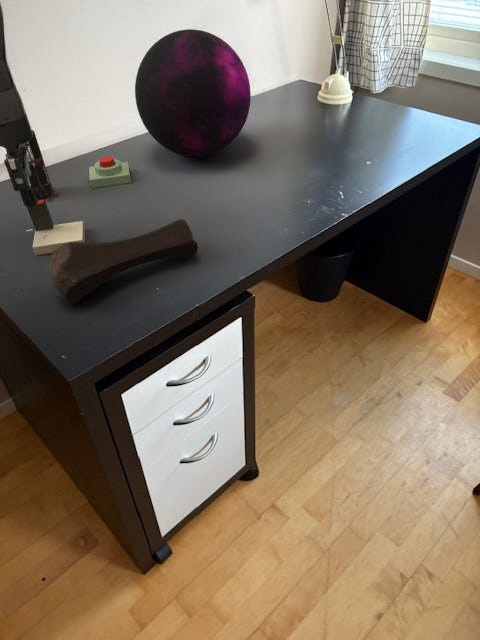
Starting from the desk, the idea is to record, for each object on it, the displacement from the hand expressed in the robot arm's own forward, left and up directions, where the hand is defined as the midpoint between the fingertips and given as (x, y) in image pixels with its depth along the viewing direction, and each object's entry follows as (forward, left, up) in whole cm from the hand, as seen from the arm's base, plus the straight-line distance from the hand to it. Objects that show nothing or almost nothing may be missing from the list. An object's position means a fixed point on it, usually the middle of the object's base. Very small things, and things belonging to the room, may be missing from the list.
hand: (33, 196), depth 97 cm
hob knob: (0, 0, -8) cm, 8 cm away
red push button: (-3, +29, -6) cm, 29 cm away
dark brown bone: (+24, -6, -10) cm, 26 cm away
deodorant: (-15, +16, -10) cm, 24 cm away
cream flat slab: (+2, 0, -10) cm, 10 cm away
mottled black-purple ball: (+12, +51, -10) cm, 53 cm away
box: (-3, +29, -10) cm, 30 cm away
